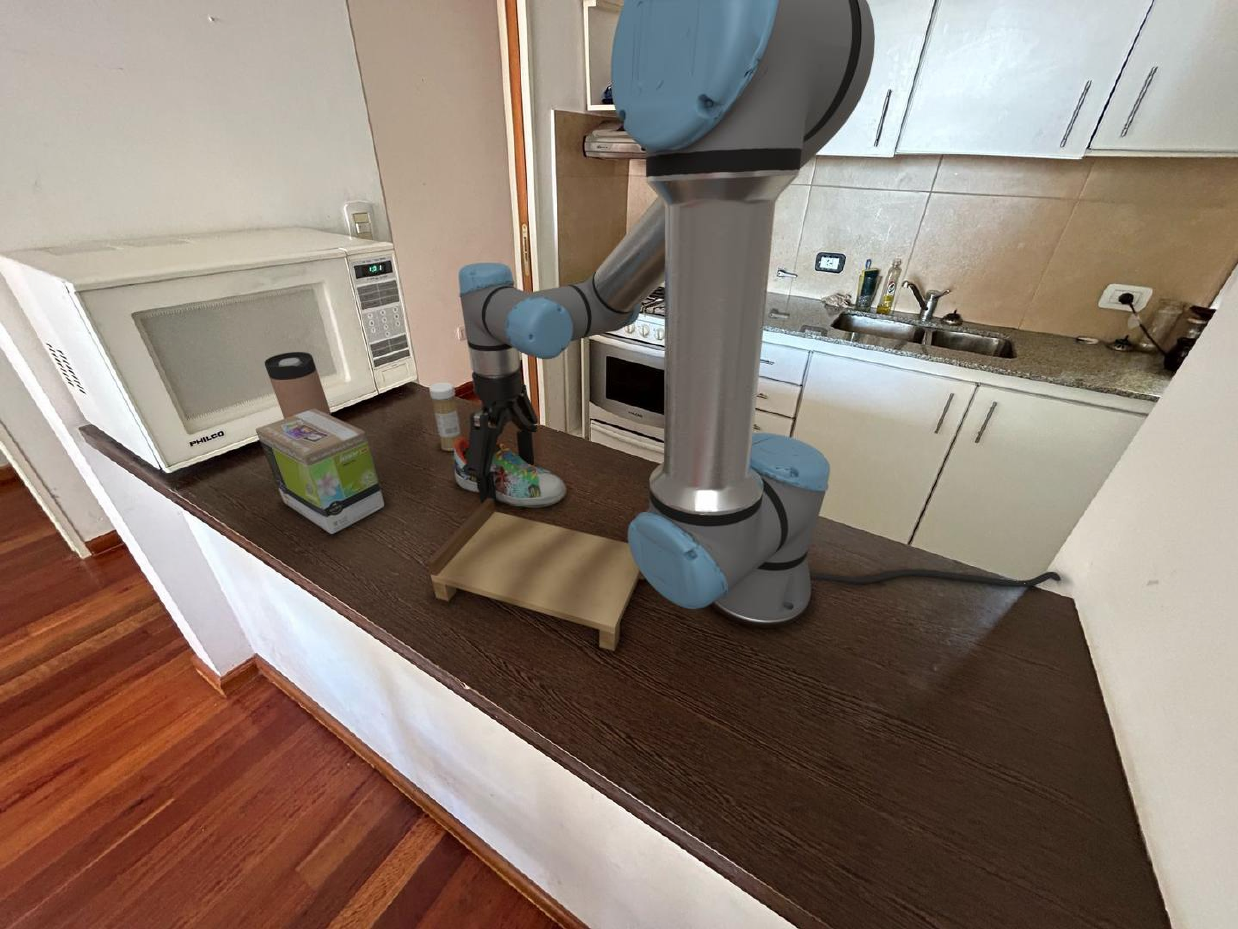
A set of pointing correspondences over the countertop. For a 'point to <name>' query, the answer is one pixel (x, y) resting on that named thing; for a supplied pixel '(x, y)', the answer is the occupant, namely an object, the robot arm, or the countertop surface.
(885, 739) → the countertop surface
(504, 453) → the sneaker
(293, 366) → the travel mug
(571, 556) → the platform
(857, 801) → the countertop surface
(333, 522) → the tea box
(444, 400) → the sprinkles bottle
